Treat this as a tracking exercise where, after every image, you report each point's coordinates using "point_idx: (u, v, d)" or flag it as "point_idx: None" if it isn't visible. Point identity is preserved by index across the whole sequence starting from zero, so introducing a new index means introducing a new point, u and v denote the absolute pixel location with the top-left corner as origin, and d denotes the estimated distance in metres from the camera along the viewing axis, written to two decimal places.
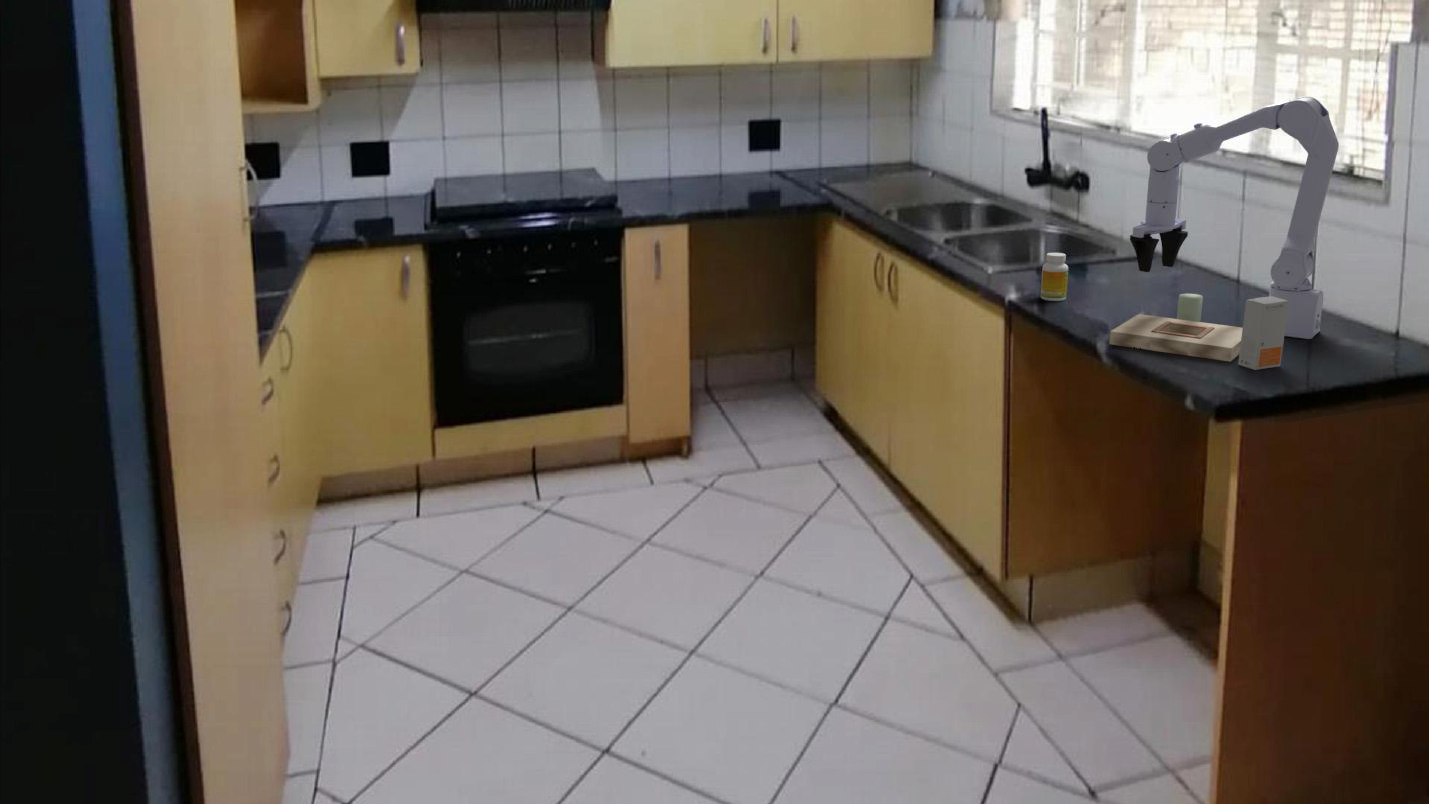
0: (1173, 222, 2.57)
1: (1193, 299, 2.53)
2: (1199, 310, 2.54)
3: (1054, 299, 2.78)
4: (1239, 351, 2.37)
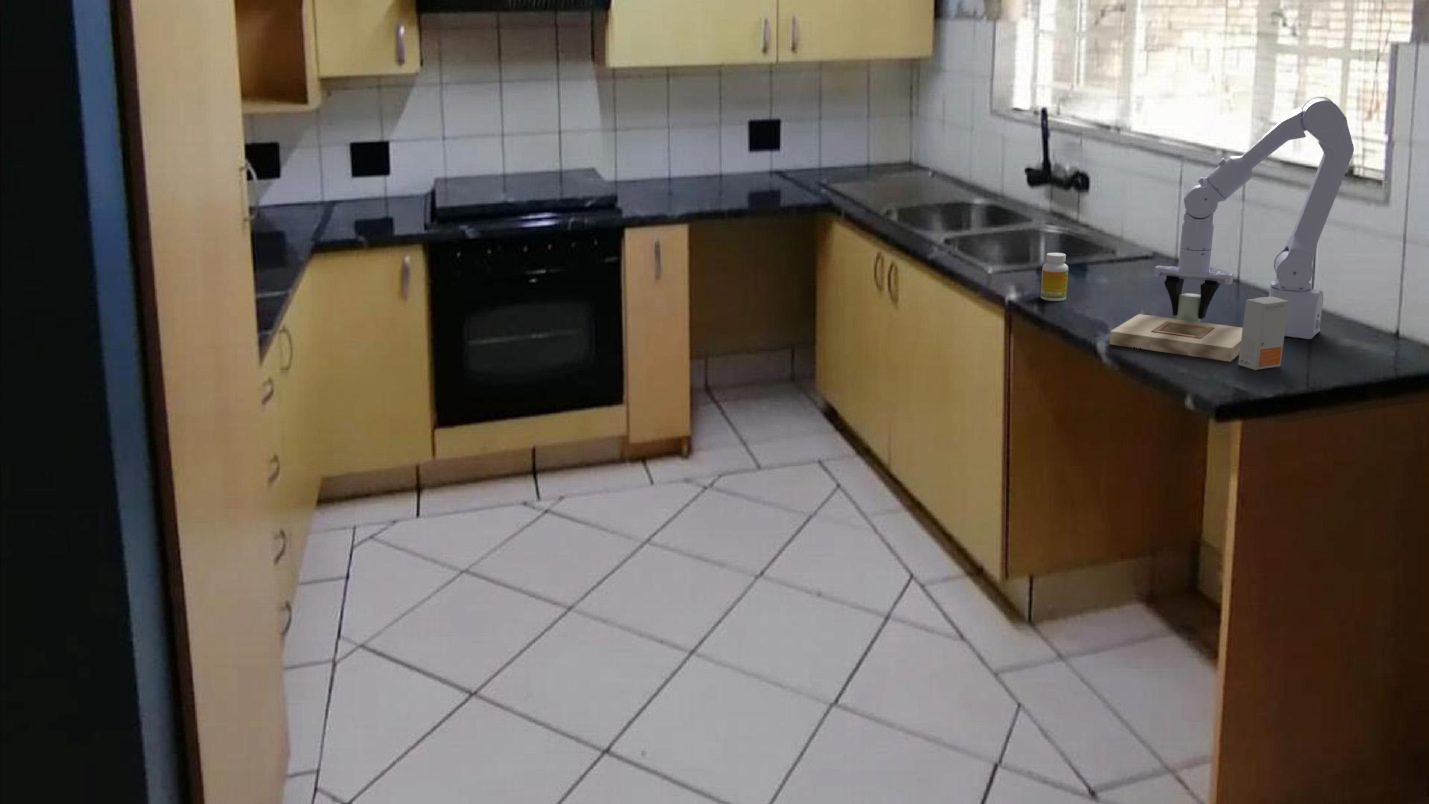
0: (1191, 270, 2.51)
1: (1193, 299, 2.53)
2: None
3: (1054, 299, 2.78)
4: (1239, 351, 2.37)
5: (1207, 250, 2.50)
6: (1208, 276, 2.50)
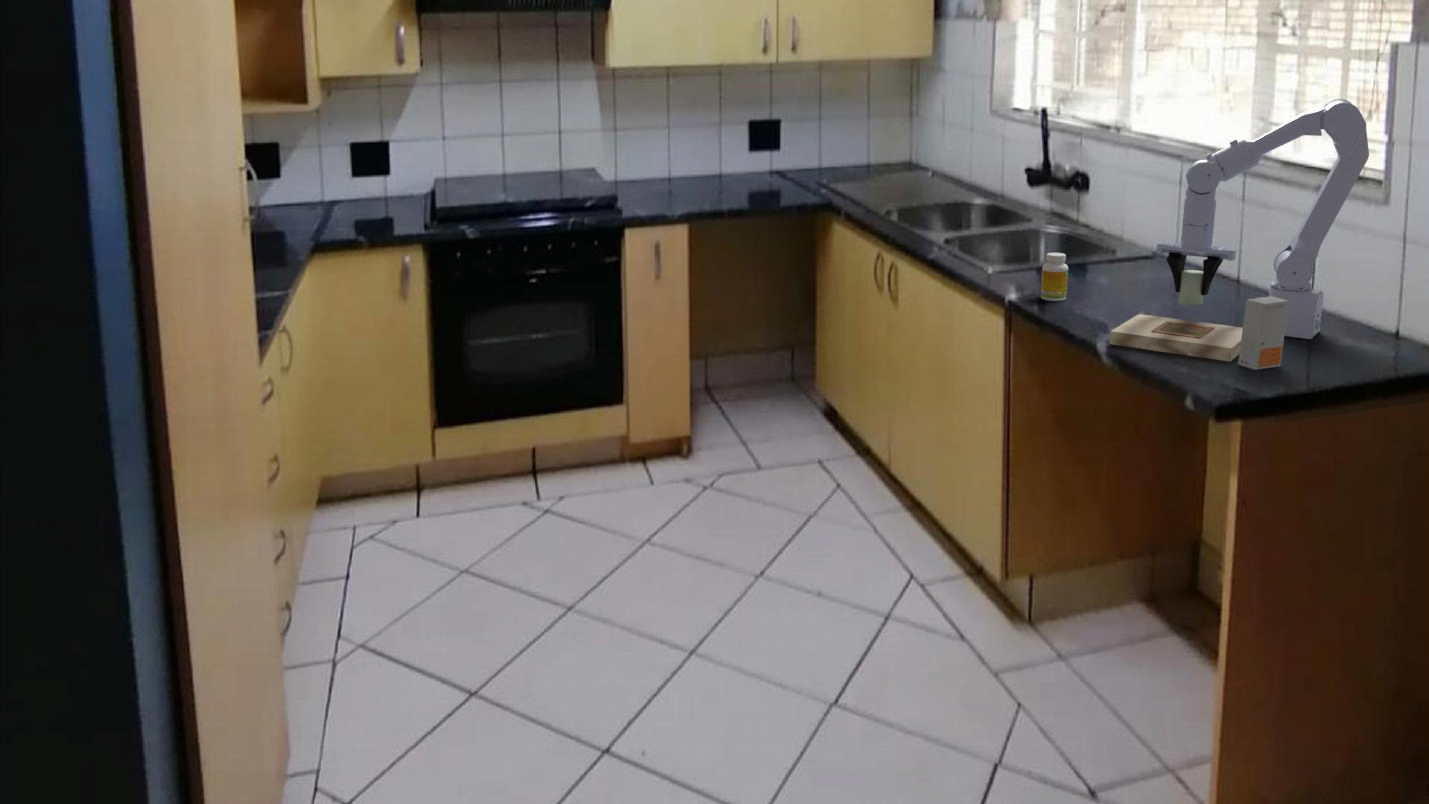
0: (1193, 246, 2.50)
1: (1196, 275, 2.52)
2: None
3: (1054, 299, 2.78)
4: (1239, 351, 2.37)
5: (1210, 226, 2.49)
6: (1211, 252, 2.49)
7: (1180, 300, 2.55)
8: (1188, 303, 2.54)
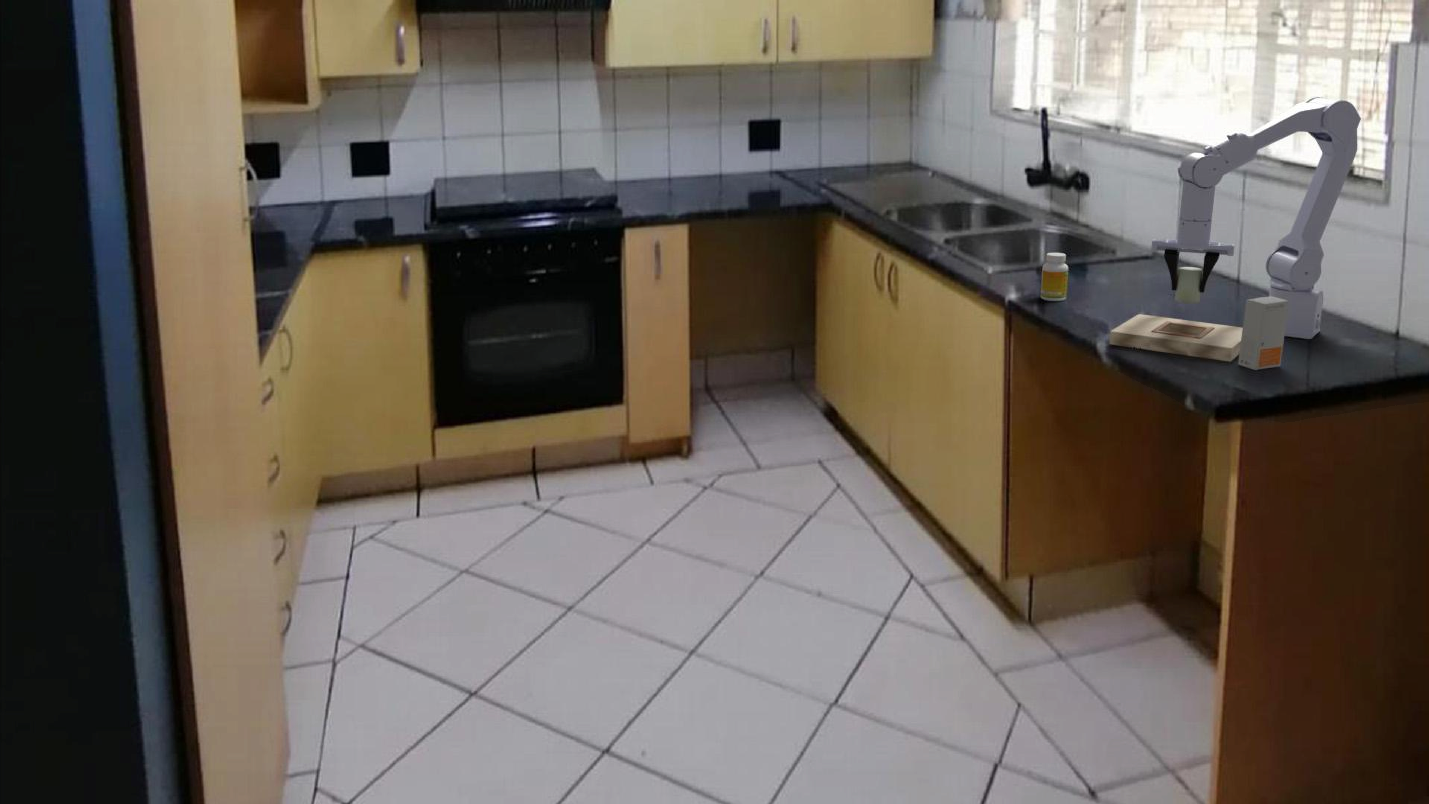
0: (1194, 242, 2.41)
1: (1195, 272, 2.43)
2: (1200, 283, 2.45)
3: (1054, 299, 2.78)
4: (1239, 351, 2.37)
5: (1209, 221, 2.40)
6: (1211, 248, 2.41)
7: (1178, 298, 2.46)
8: (1187, 301, 2.45)
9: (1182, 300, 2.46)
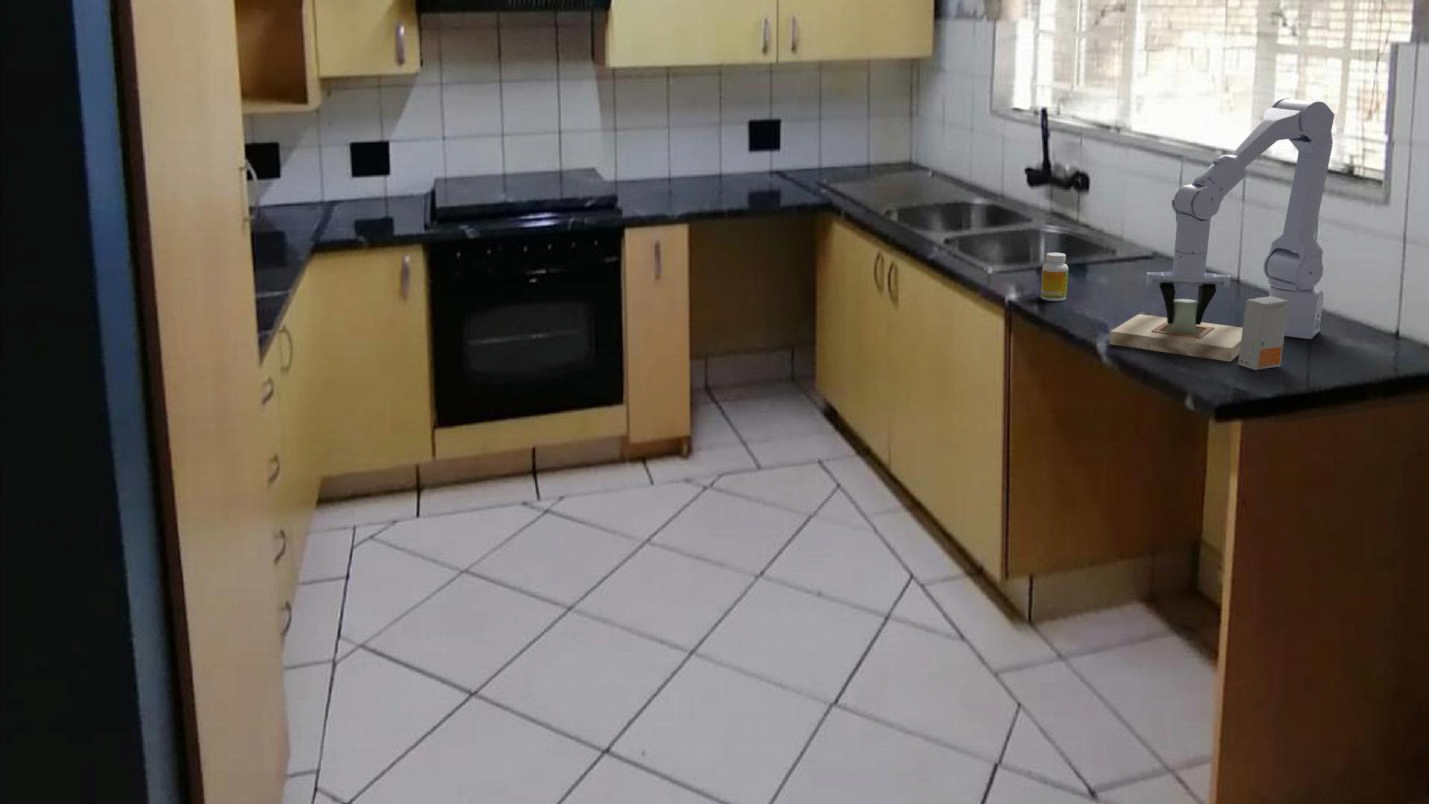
0: (1192, 275, 2.38)
1: (1193, 305, 2.40)
2: (1196, 315, 2.42)
3: (1054, 299, 2.78)
4: (1239, 351, 2.37)
5: (1206, 253, 2.38)
6: (1209, 280, 2.38)
7: (1175, 331, 2.43)
8: None
9: (1180, 333, 2.42)
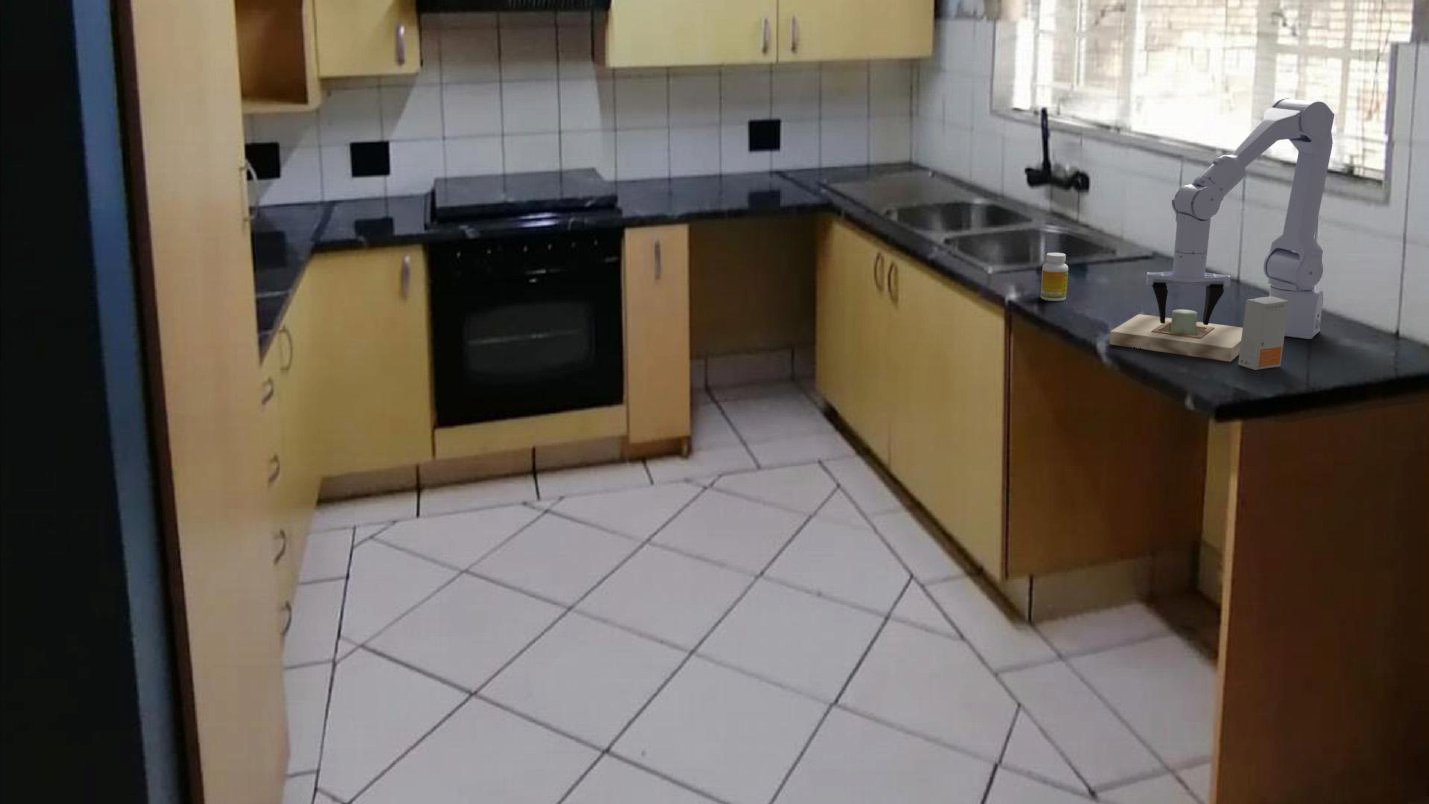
0: (1192, 275, 2.38)
1: (1192, 315, 2.41)
2: (1195, 326, 2.43)
3: (1054, 299, 2.78)
4: (1239, 351, 2.37)
5: (1206, 253, 2.38)
6: (1209, 280, 2.38)
7: None
8: None
9: None
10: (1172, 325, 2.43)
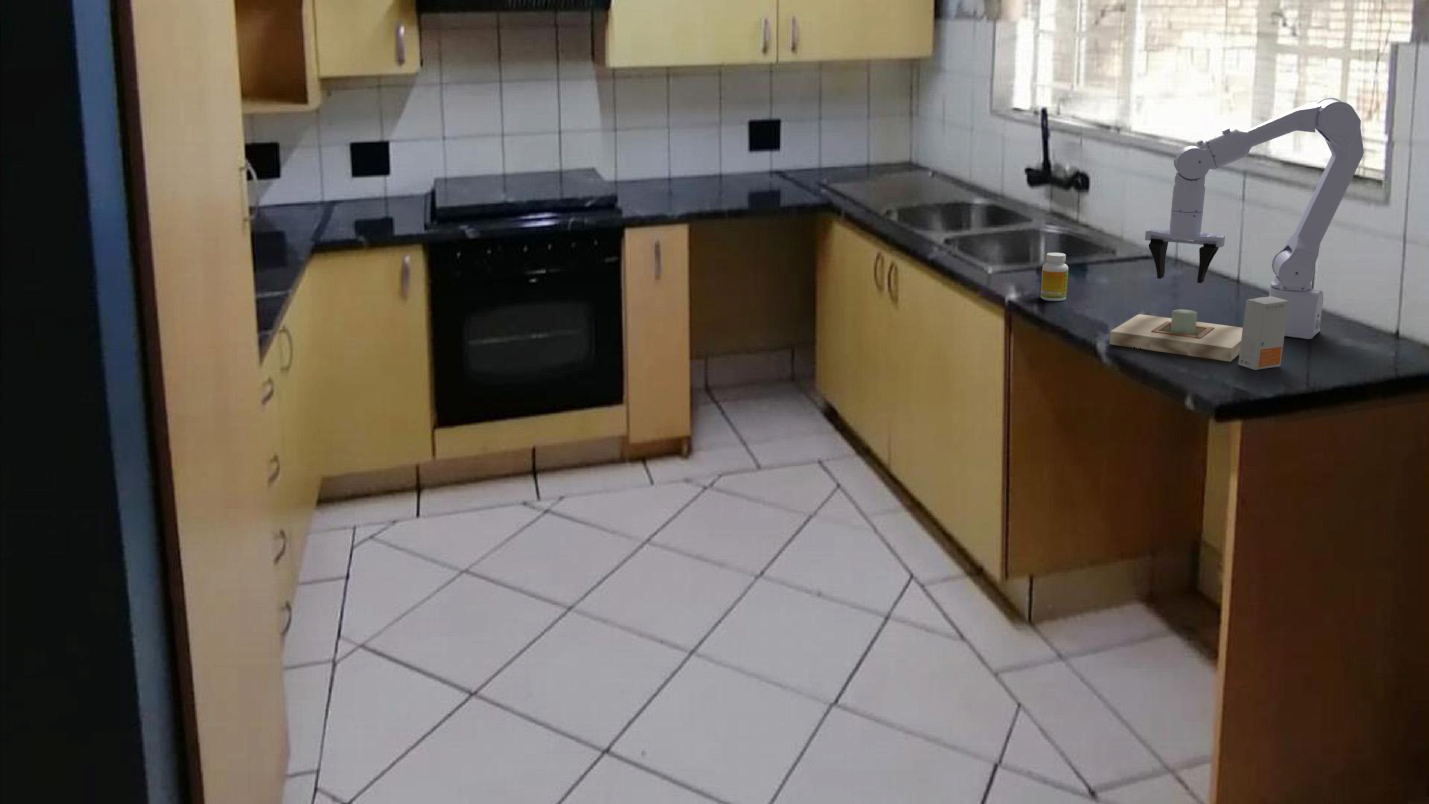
0: (1182, 233, 2.48)
1: (1192, 315, 2.41)
2: (1195, 326, 2.43)
3: (1054, 299, 2.78)
4: (1239, 351, 2.37)
5: (1199, 212, 2.47)
6: (1200, 238, 2.47)
7: None
8: None
9: None
10: (1172, 325, 2.43)
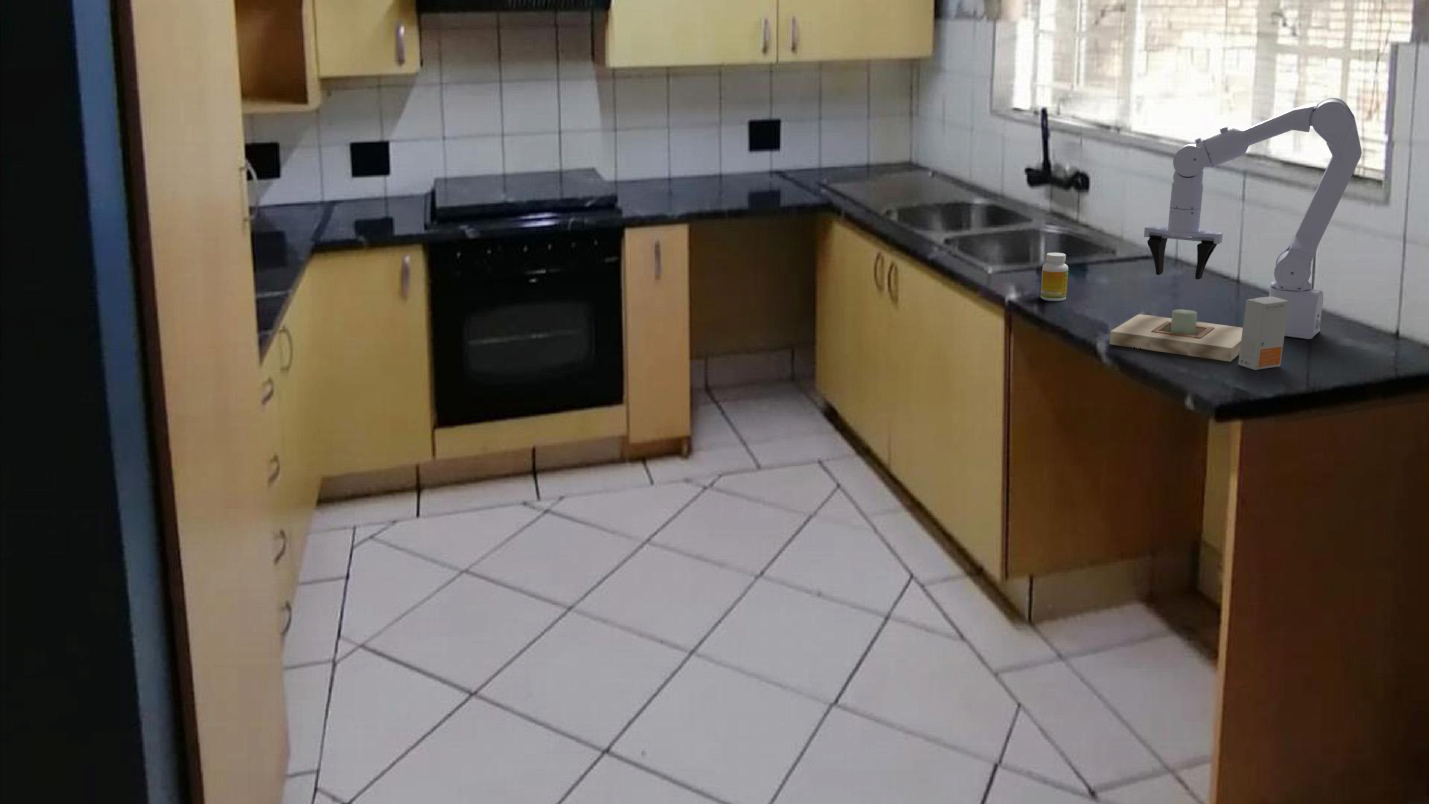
0: (1180, 229, 2.51)
1: (1192, 315, 2.41)
2: (1195, 326, 2.43)
3: (1054, 299, 2.78)
4: (1239, 351, 2.37)
5: (1197, 209, 2.50)
6: (1198, 235, 2.51)
7: None
8: None
9: None
10: (1172, 325, 2.43)
